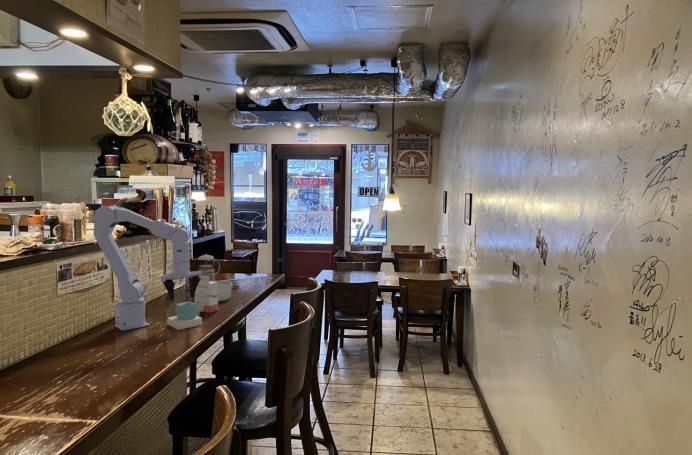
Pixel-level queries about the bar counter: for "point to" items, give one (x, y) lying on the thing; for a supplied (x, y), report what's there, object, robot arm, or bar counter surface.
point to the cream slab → (184, 322)
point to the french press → (207, 266)
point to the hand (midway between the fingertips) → (182, 298)
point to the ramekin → (224, 290)
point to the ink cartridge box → (207, 295)
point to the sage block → (197, 309)
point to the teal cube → (186, 310)
